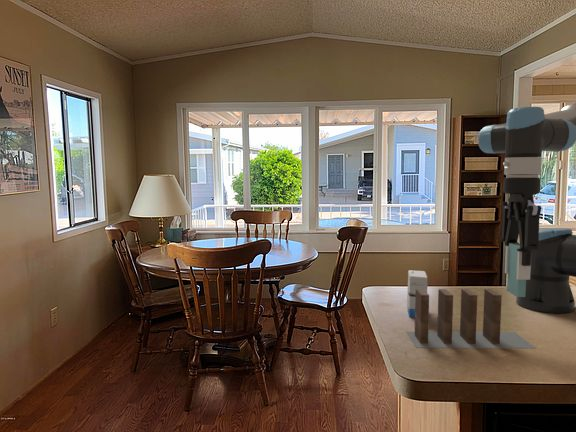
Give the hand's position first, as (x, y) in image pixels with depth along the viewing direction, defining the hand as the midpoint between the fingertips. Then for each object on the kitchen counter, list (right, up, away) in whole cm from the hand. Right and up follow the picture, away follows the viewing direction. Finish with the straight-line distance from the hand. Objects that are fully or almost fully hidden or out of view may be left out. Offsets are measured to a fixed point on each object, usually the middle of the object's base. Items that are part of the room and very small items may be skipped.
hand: (517, 275), depth 104 cm
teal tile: (0, -4, 0) cm, 4 cm away
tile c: (-11, -16, +2) cm, 19 cm away
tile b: (-5, -15, +2) cm, 16 cm away
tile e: (-22, -16, +2) cm, 27 cm away
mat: (-11, -16, +2) cm, 19 cm away
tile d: (-16, -16, +2) cm, 23 cm away
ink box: (-17, -14, +22) cm, 31 cm away
